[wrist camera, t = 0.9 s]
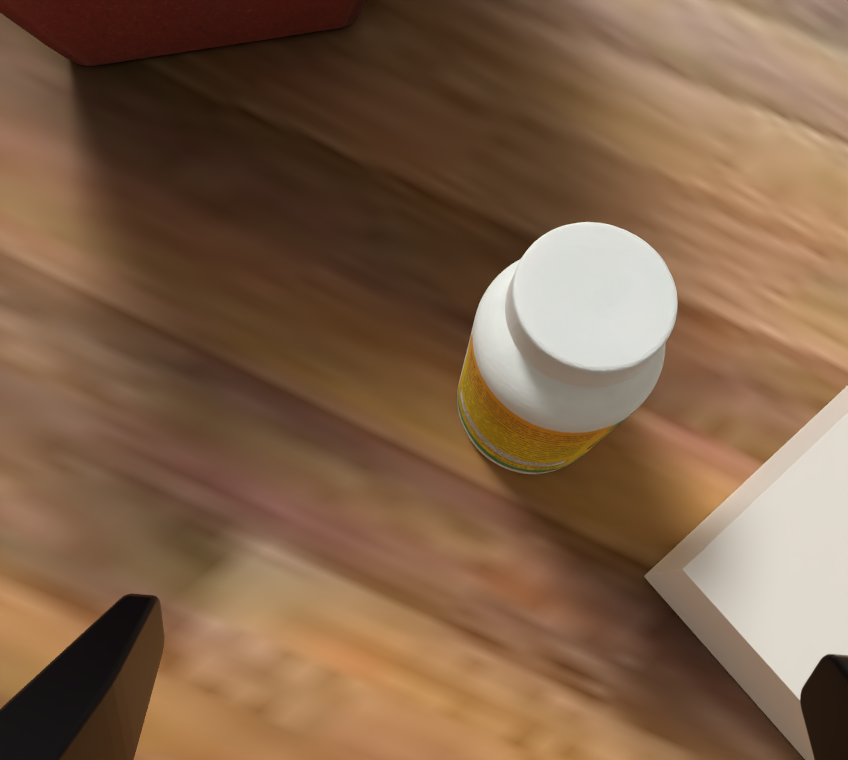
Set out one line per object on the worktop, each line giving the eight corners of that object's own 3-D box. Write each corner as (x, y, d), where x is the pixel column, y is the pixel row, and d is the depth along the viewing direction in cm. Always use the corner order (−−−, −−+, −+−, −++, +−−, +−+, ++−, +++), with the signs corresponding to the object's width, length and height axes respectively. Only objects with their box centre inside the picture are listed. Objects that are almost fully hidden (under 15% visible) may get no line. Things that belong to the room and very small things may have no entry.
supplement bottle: (476, 320, 27) (515, 169, 18) (613, 359, 27) (723, 225, 18) (437, 453, 25) (458, 361, 16) (583, 496, 25) (688, 426, 16)
